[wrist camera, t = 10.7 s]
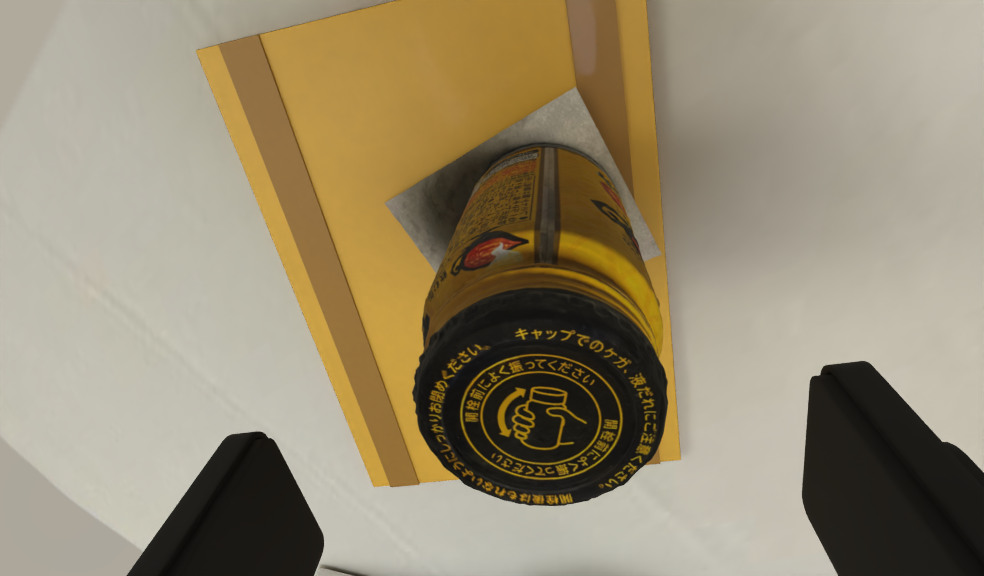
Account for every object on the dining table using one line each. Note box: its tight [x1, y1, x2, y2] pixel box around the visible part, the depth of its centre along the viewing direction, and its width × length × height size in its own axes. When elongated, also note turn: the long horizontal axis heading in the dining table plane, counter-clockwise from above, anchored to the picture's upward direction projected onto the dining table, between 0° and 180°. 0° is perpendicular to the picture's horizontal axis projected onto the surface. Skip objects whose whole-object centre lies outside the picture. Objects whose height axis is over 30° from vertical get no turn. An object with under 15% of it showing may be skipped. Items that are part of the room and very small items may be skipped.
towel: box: [196, 0, 681, 487], centre depth 23 cm, size 22×16×1 cm
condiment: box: [385, 87, 668, 506], centre depth 16 cm, size 7×8×12 cm
